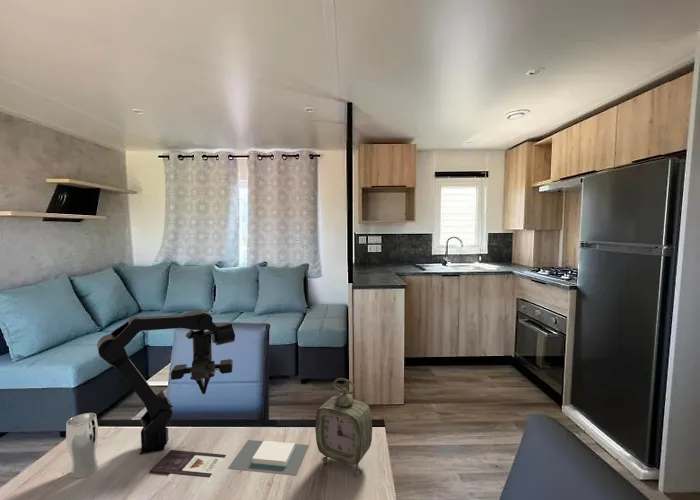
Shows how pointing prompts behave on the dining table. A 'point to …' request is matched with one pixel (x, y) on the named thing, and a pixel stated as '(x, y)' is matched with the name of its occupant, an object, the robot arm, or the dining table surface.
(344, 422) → the tabletop clock
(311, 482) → the dining table surface
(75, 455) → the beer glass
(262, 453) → the tile
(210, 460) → the chocolate bar
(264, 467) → the mat
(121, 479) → the dining table surface
